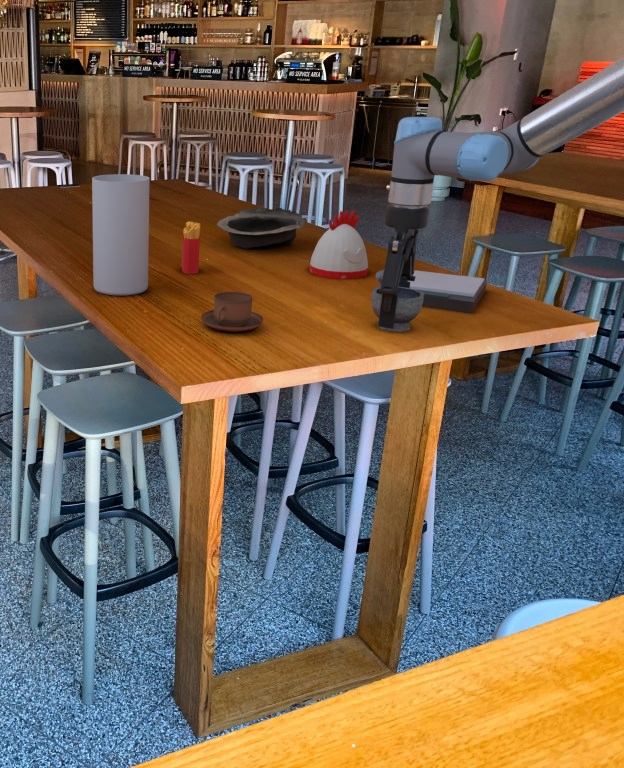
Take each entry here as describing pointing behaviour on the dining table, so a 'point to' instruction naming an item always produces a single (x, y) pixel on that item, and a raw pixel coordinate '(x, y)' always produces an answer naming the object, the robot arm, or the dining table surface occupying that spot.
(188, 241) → the french fries
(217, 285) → the dining table surface
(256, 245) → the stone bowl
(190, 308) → the dining table surface
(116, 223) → the cylinder vase
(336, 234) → the kitchen timer
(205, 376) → the dining table surface
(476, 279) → the kitchen scale
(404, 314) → the mortar and pestle
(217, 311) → the cup and saucer
